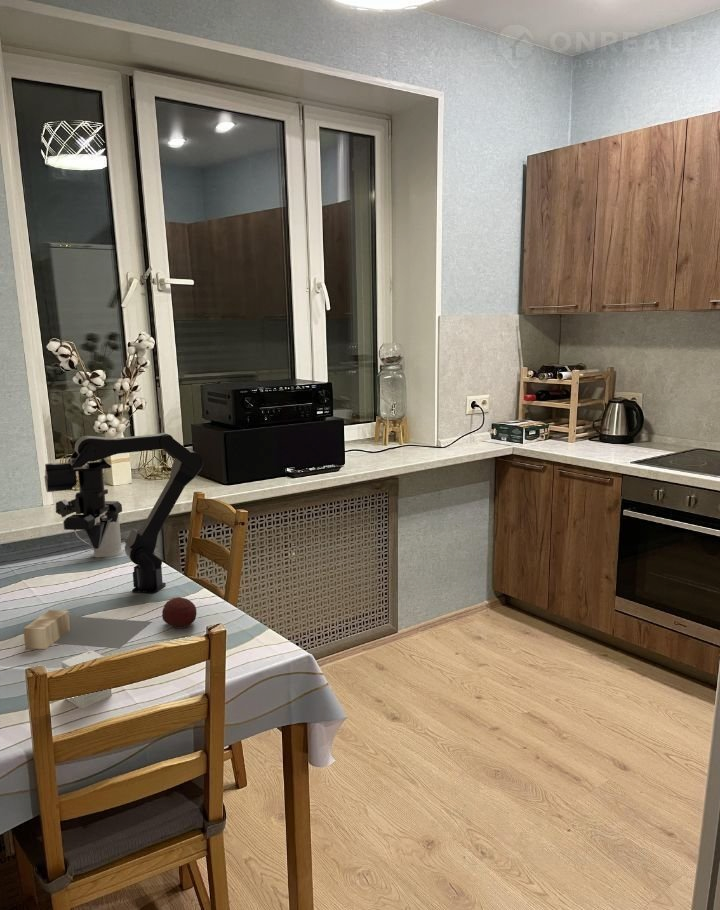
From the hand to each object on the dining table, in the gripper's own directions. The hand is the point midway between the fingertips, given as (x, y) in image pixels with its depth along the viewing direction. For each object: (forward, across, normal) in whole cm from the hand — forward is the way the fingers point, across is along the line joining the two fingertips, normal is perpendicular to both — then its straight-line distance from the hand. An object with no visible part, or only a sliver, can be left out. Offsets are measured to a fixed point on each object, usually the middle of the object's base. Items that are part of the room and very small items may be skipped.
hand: (96, 548), depth 173 cm
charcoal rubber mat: (+13, +21, +9) cm, 26 cm away
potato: (+13, +15, +27) cm, 34 cm away
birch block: (+10, +20, +1) cm, 23 cm away
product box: (+13, +48, +22) cm, 54 cm away
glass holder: (+13, -35, -18) cm, 41 cm away
